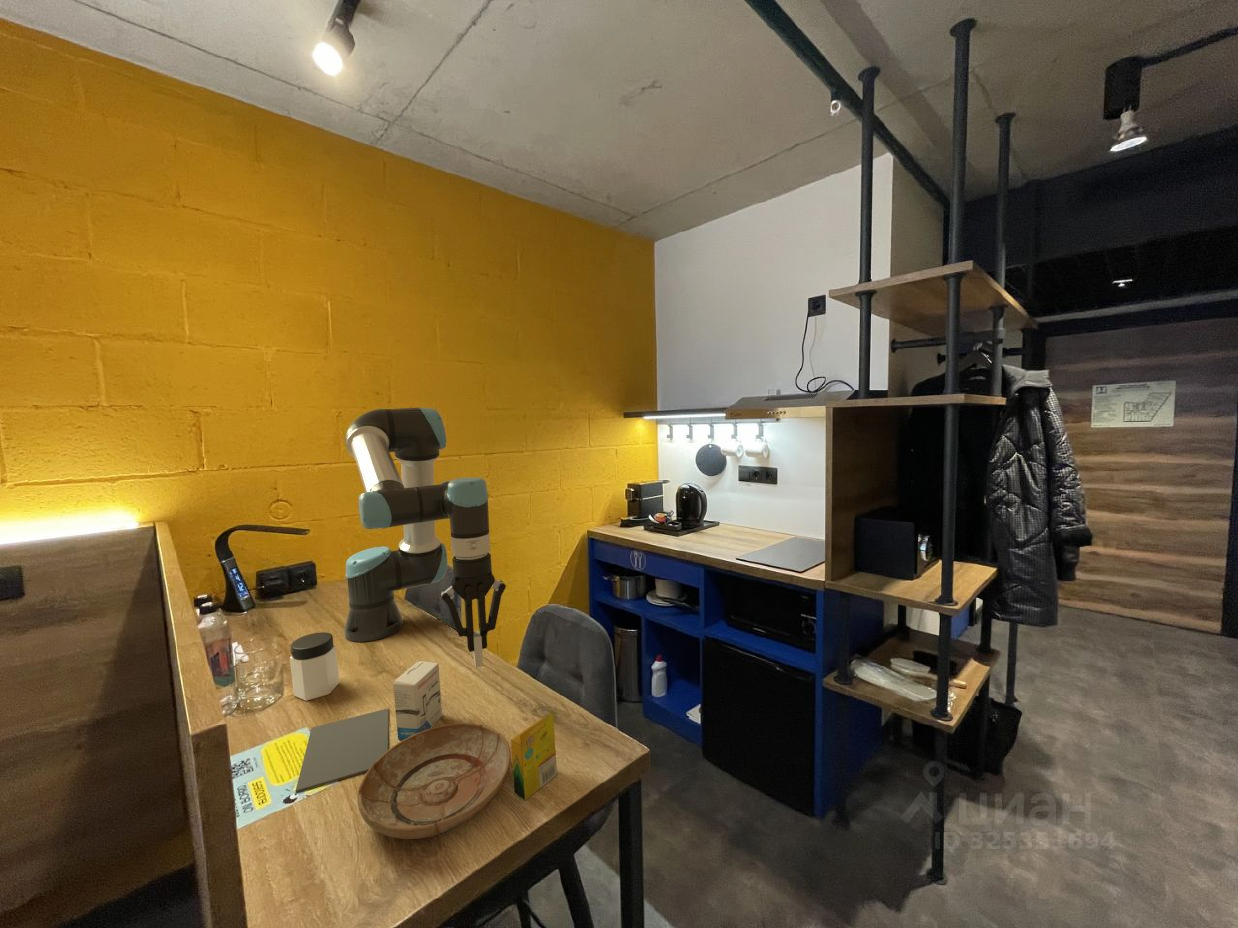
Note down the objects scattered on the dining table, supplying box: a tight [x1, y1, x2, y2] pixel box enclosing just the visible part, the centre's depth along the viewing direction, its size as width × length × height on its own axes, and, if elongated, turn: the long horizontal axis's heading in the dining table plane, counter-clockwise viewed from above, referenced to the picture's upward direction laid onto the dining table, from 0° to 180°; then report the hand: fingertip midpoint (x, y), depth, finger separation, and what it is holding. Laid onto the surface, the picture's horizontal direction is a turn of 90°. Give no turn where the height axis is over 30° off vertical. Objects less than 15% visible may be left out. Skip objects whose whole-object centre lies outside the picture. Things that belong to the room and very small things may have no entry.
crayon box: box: [510, 712, 558, 802], centre depth 82 cm, size 7×3×12 cm, turn 140°
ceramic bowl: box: [357, 722, 512, 840], centre depth 81 cm, size 23×24×5 cm
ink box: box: [392, 660, 443, 741], centre depth 98 cm, size 9×5×12 cm, turn 168°
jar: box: [289, 631, 340, 702], centre depth 112 cm, size 9×8×12 cm
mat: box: [295, 708, 389, 794], centre depth 93 cm, size 18×14×1 cm
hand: (478, 663), depth 102 cm, fingers closed
